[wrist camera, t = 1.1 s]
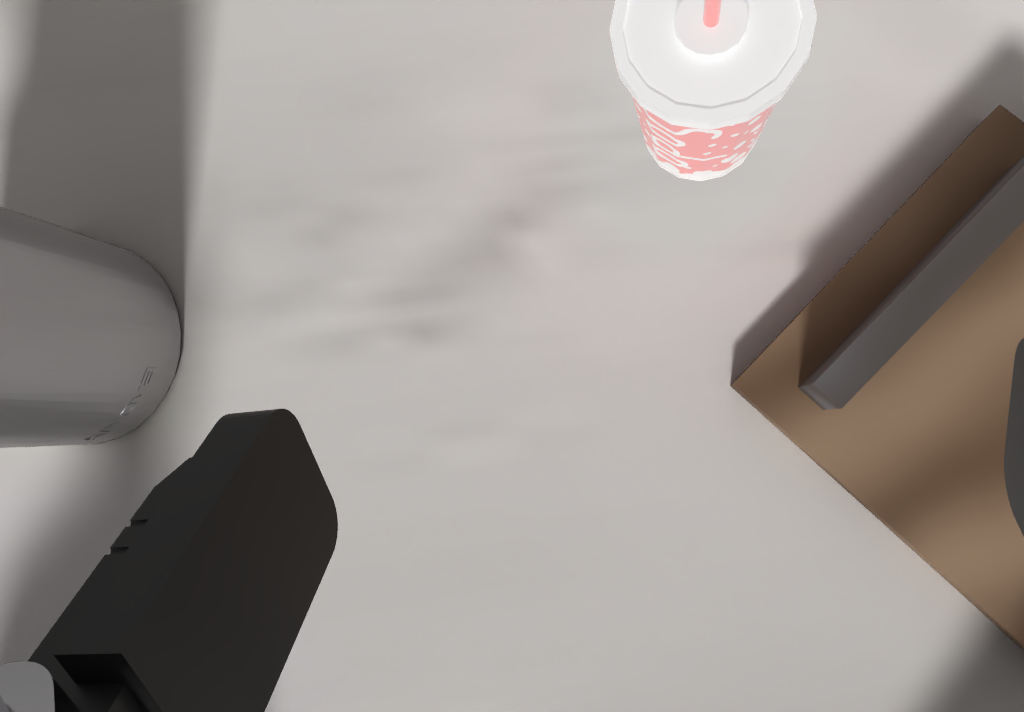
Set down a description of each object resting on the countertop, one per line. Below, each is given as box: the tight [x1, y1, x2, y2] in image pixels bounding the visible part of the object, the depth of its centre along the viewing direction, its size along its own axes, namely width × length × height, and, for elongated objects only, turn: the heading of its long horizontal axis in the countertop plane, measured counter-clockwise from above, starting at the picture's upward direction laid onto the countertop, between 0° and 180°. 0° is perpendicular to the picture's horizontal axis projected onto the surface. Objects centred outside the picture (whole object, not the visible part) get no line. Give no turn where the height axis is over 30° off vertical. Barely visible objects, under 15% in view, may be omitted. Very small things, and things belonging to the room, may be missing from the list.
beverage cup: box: [609, 0, 817, 181], centre depth 27 cm, size 6×6×14 cm
